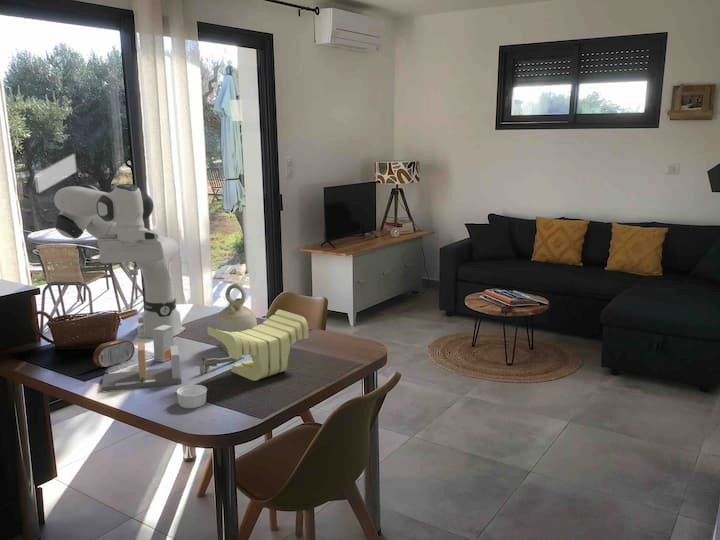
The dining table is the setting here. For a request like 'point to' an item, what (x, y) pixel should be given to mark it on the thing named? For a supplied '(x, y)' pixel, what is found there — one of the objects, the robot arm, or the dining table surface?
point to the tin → (113, 352)
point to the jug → (235, 315)
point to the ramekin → (192, 396)
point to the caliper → (214, 363)
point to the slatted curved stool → (264, 344)
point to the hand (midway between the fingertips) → (133, 274)
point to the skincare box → (162, 342)
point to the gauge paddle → (142, 361)
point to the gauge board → (152, 376)
